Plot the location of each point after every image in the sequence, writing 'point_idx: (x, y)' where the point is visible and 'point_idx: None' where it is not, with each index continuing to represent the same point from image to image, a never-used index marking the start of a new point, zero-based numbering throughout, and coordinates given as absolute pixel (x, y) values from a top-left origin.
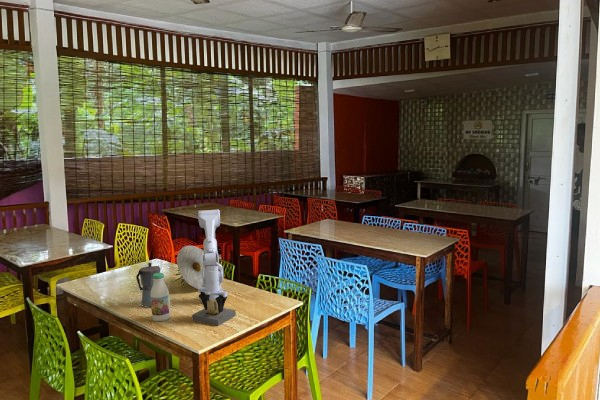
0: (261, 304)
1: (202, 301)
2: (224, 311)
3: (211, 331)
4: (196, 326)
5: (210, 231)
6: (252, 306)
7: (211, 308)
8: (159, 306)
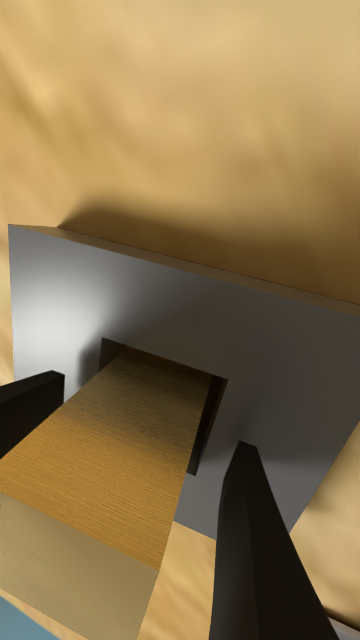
0: None
1: (298, 595)
2: None
3: (41, 83)
4: (252, 155)
5: None
6: None
7: (120, 413)
8: None
